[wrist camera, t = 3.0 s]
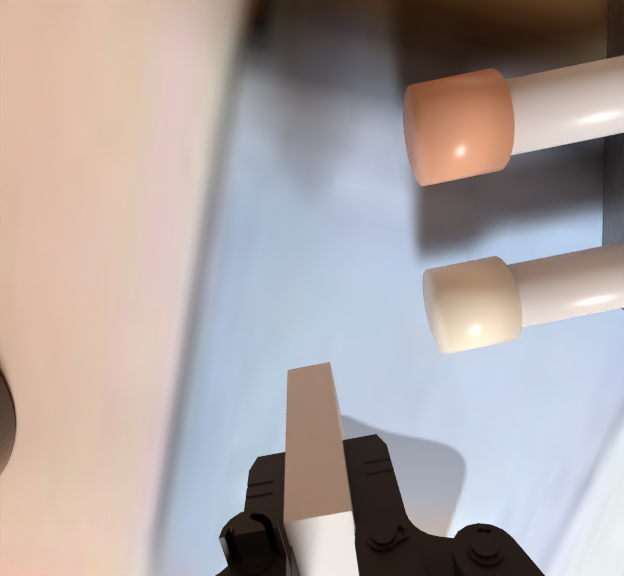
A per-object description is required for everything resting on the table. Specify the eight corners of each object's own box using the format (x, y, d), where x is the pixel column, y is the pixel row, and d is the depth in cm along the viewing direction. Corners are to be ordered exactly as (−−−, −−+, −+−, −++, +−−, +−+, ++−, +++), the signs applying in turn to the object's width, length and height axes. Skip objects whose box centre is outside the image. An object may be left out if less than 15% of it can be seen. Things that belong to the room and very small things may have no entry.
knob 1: (409, 180, 21) (435, 192, 17) (398, 88, 19) (423, 81, 16) (751, 110, 20) (849, 109, 17) (763, 12, 19) (873, -13, 15)
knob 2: (427, 331, 23) (453, 370, 20) (419, 259, 22) (444, 286, 18) (730, 272, 23) (812, 300, 19) (740, 195, 22) (829, 210, 18)
